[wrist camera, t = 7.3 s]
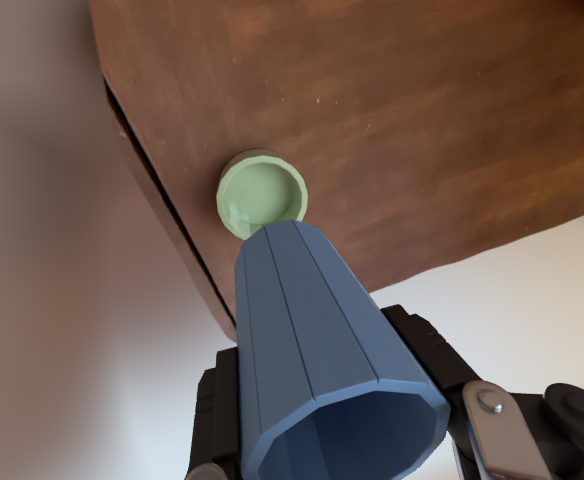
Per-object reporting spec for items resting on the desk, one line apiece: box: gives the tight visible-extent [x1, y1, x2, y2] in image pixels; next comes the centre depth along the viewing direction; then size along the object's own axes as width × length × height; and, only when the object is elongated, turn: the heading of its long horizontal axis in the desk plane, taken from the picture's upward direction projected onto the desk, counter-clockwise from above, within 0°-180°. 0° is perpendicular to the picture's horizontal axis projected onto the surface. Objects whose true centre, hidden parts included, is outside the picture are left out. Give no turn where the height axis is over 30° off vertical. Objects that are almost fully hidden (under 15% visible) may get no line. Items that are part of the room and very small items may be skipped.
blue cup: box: [235, 219, 451, 480], centre depth 12 cm, size 6×6×10 cm
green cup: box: [216, 149, 307, 240], centre depth 29 cm, size 9×9×4 cm
